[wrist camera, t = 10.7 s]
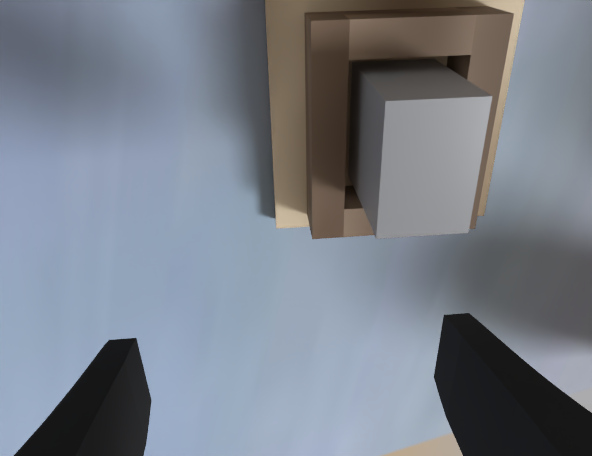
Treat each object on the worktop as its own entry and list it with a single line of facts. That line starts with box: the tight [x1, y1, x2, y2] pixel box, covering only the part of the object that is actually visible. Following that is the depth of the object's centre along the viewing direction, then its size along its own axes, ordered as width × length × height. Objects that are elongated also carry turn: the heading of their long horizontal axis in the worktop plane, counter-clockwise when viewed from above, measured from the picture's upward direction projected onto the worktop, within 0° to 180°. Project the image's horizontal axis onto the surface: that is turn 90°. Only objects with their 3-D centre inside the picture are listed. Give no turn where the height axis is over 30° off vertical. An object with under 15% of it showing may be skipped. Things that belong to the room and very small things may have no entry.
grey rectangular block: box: [349, 59, 492, 239], centre depth 17 cm, size 3×4×5 cm
